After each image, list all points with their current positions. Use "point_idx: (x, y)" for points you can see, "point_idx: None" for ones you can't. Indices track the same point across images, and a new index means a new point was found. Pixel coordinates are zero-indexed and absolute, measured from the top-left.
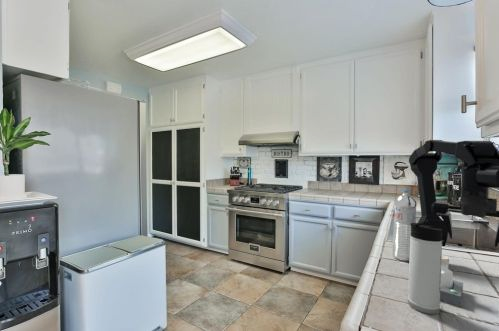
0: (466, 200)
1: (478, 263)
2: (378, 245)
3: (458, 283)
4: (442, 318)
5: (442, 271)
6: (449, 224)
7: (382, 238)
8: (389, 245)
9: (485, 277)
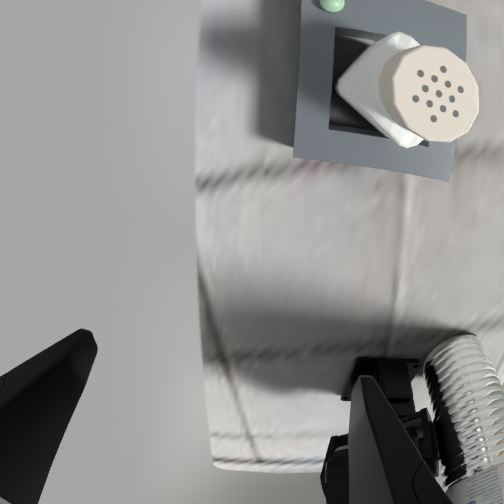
0: None
1: (240, 421)
2: None
3: (312, 130)
4: None
5: (399, 45)
6: (405, 494)
7: None
8: None
9: (222, 344)
